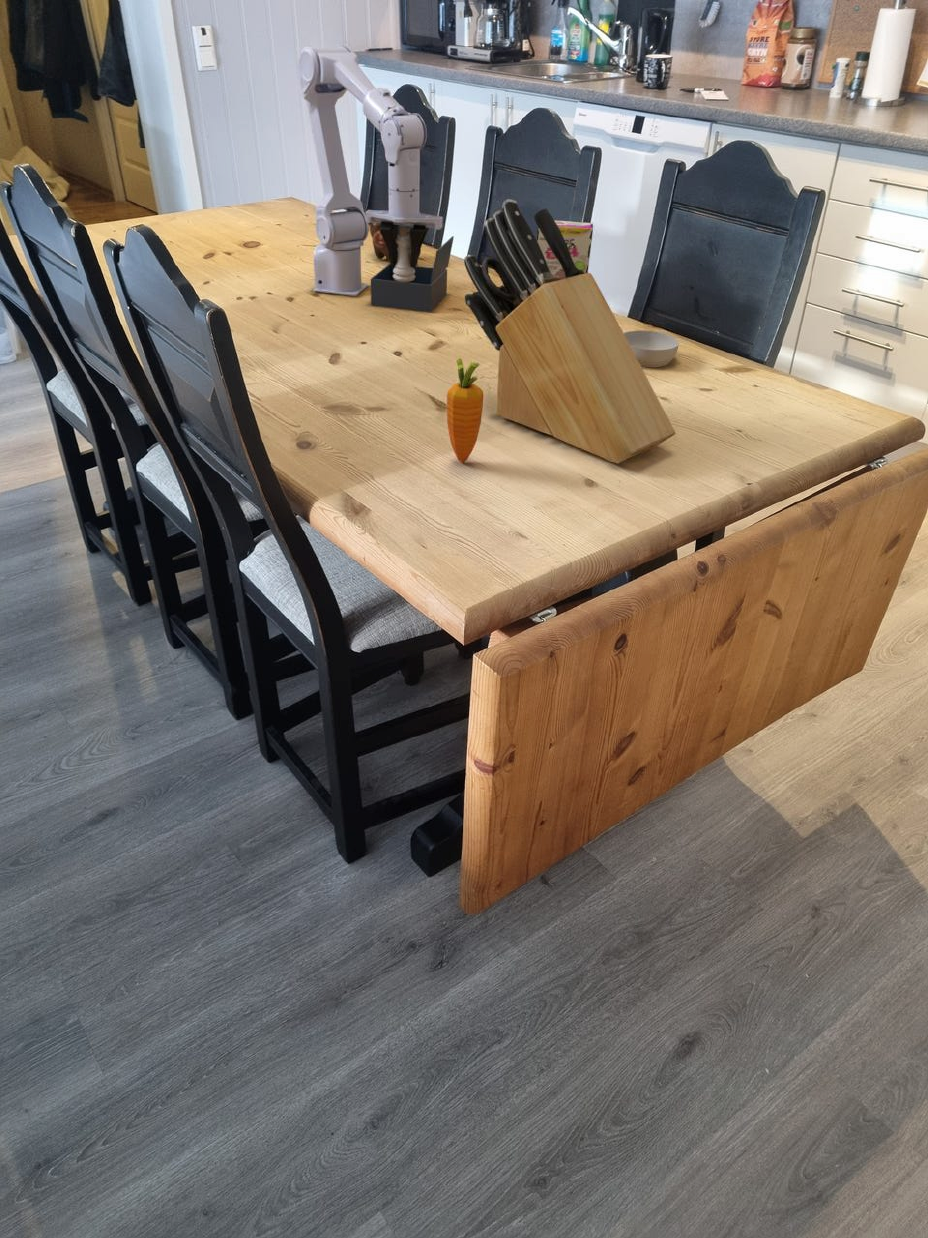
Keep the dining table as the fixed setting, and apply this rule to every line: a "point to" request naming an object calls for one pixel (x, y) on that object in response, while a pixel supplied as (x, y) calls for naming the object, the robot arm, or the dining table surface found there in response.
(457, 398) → the carrot
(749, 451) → the dining table surface
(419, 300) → the carton
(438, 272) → the flap
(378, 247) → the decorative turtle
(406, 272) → the rook chess piece
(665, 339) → the grey bowl
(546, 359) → the knife block
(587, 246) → the candy bar box
